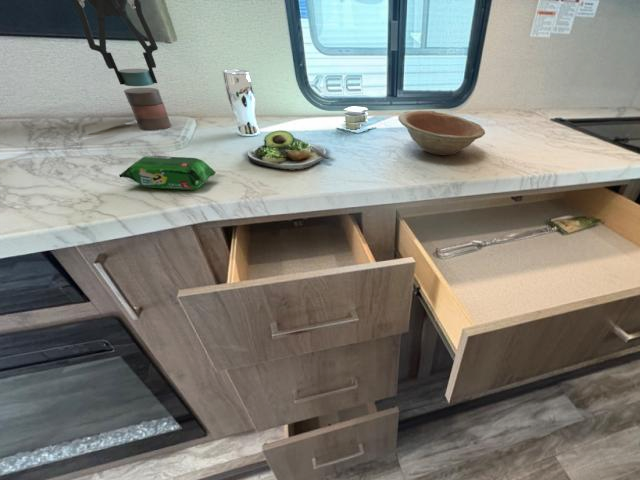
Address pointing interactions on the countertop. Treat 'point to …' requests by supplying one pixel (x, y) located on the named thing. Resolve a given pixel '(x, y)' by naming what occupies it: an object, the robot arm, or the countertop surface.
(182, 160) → the snack package
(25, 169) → the countertop surface
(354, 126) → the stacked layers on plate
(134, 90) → the brown striped cylinder
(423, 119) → the bowl
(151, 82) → the teal short cylinder
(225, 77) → the beer glass
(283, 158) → the salad plate
